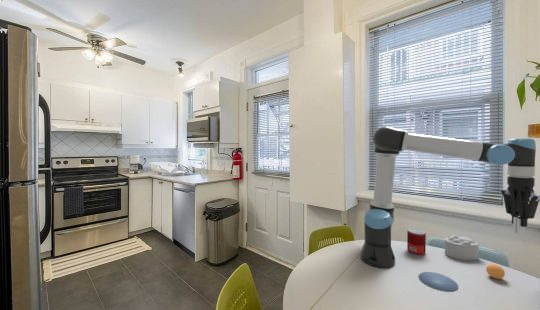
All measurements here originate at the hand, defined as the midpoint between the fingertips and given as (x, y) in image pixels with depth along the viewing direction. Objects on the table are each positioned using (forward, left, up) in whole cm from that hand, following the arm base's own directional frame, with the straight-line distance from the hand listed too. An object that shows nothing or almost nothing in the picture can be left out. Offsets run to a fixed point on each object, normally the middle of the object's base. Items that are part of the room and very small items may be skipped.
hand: (519, 233), depth 95 cm
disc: (0, -35, -18) cm, 40 cm away
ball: (0, -10, -16) cm, 19 cm away
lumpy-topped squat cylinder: (-20, -7, -19) cm, 28 cm away
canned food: (-25, -26, -19) cm, 41 cm away
